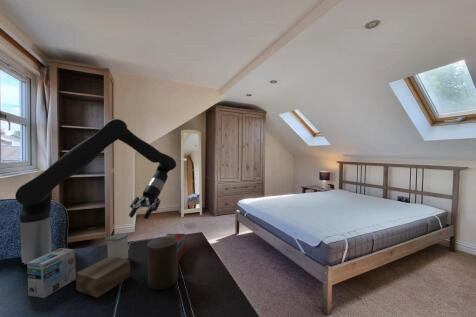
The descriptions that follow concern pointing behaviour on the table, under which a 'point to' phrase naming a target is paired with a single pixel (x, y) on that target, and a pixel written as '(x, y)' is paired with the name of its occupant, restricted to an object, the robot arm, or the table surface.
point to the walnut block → (102, 276)
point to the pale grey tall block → (118, 246)
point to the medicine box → (179, 244)
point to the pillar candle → (162, 263)
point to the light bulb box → (51, 272)
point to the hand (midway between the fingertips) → (137, 217)
